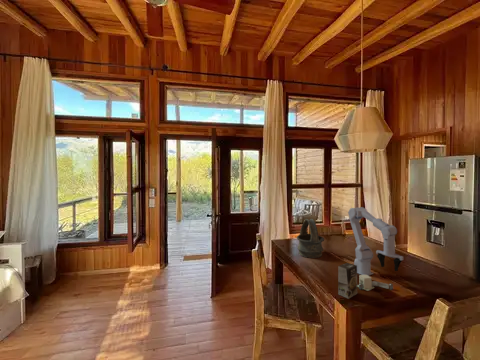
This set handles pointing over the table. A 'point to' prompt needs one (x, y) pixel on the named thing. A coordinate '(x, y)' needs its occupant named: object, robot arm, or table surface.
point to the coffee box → (347, 280)
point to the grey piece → (380, 284)
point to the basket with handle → (310, 240)
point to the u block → (365, 281)
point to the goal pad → (367, 288)
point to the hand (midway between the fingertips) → (389, 268)
